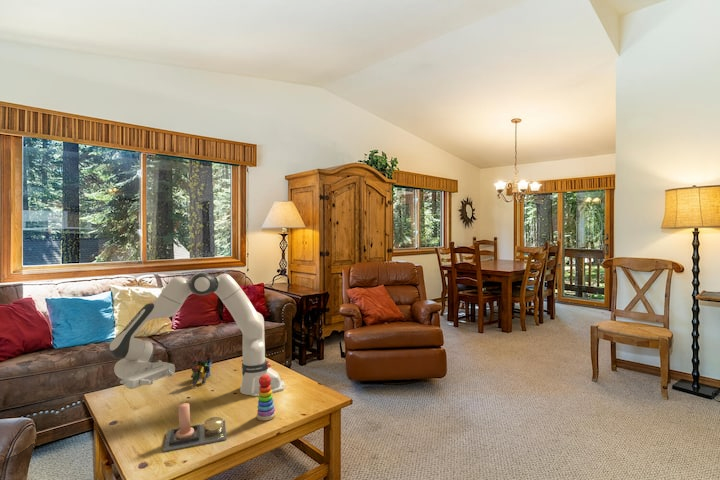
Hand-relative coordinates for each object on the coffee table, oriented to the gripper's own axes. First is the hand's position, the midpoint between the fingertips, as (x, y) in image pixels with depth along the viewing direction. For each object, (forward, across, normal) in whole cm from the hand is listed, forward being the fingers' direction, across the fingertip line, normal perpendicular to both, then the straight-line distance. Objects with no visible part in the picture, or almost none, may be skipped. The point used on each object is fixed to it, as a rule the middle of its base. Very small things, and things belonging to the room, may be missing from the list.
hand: (161, 378), depth 162 cm
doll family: (-25, +40, +20) cm, 52 cm away
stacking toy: (+34, +26, +21) cm, 47 cm away
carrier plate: (+20, 0, +20) cm, 28 cm away
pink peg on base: (+17, -3, +19) cm, 26 cm away
